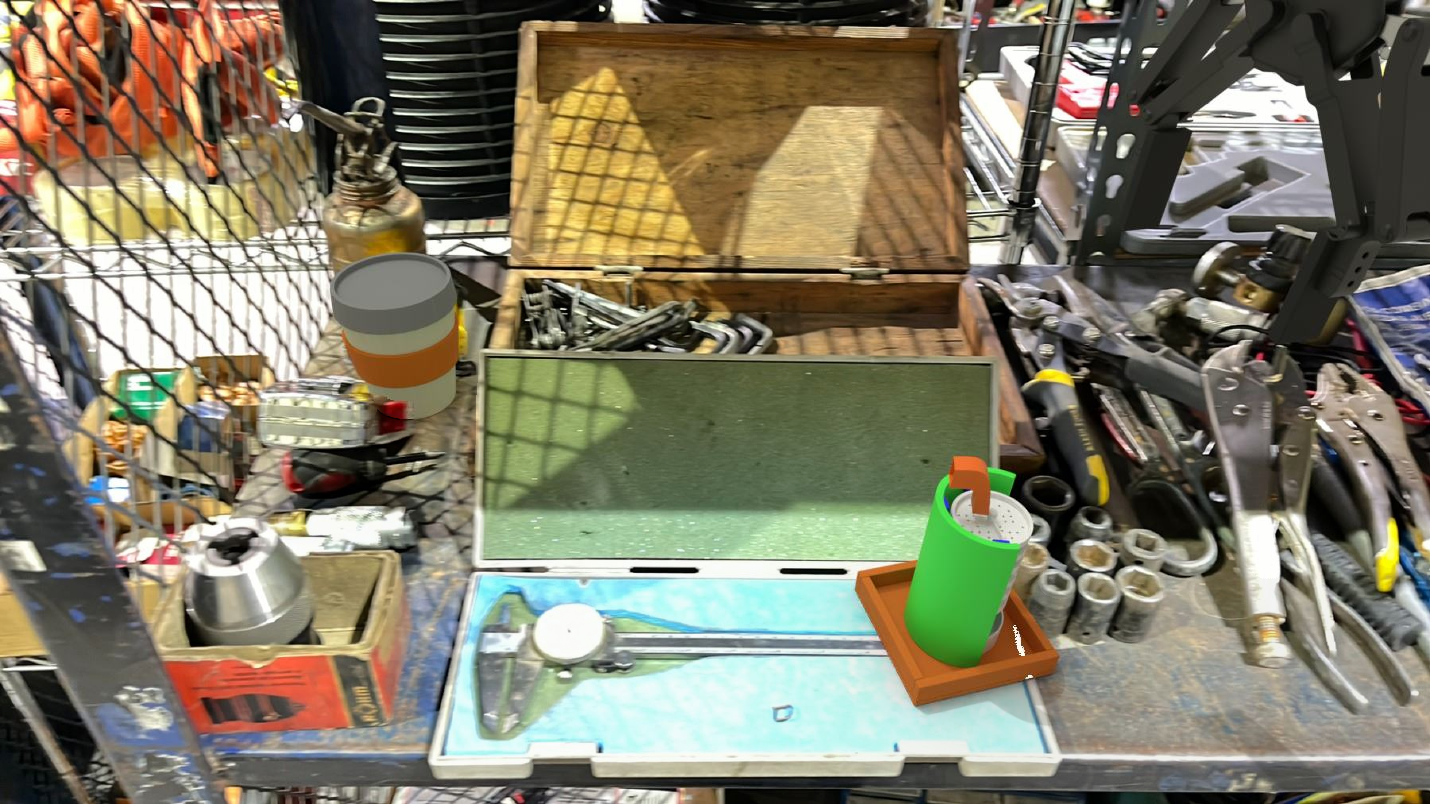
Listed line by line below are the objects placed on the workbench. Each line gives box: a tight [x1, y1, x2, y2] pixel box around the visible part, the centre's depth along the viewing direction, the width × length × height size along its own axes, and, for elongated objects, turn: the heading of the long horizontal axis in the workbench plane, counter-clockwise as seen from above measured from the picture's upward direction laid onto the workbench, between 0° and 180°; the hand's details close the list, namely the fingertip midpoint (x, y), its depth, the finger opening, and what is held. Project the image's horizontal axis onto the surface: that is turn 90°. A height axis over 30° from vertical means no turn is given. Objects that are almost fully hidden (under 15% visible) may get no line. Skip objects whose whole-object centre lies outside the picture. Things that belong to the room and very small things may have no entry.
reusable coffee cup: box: [329, 251, 460, 421], centre depth 99 cm, size 13×13×15 cm
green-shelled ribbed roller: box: [904, 455, 1034, 668], centre depth 73 cm, size 9×8×18 cm
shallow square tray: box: [854, 559, 1061, 707], centre depth 78 cm, size 13×13×2 cm
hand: (1207, 278), depth 55 cm, fingers open, 13 cm apart
